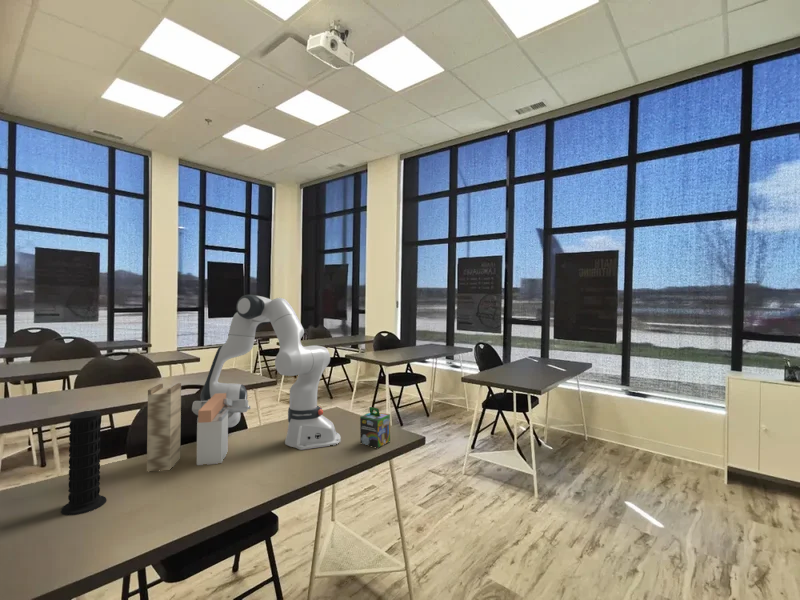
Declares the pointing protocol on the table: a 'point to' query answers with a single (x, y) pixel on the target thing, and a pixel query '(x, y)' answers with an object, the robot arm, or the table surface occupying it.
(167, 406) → the block
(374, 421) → the chalk box
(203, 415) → the shaft
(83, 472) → the handle grip
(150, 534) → the table surface
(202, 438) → the yoke block
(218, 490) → the table surface
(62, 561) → the table surface
